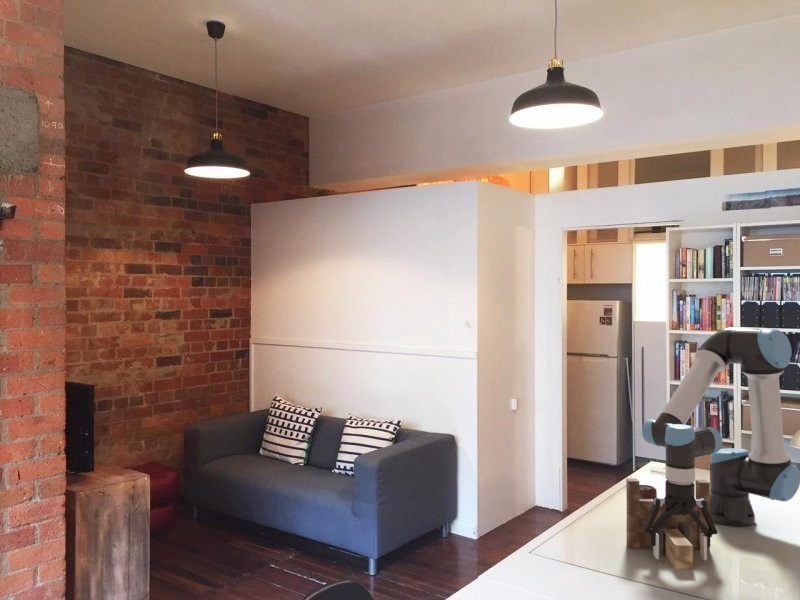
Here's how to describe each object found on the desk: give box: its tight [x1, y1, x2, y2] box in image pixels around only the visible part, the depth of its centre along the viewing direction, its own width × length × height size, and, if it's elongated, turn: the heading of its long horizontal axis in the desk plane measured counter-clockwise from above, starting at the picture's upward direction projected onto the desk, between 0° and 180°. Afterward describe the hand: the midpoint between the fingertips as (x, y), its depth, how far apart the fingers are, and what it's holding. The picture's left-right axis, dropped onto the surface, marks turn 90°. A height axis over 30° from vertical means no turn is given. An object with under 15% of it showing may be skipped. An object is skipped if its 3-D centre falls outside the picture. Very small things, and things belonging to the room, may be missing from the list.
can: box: [639, 484, 658, 499], centre depth 211 cm, size 6×6×14 cm
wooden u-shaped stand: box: [625, 477, 711, 556], centre depth 195 cm, size 23×8×20 cm, turn 85°
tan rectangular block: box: [663, 527, 694, 570], centre depth 189 cm, size 5×13×7 cm, turn 175°
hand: (679, 557), depth 186 cm, fingers open, 12 cm apart
